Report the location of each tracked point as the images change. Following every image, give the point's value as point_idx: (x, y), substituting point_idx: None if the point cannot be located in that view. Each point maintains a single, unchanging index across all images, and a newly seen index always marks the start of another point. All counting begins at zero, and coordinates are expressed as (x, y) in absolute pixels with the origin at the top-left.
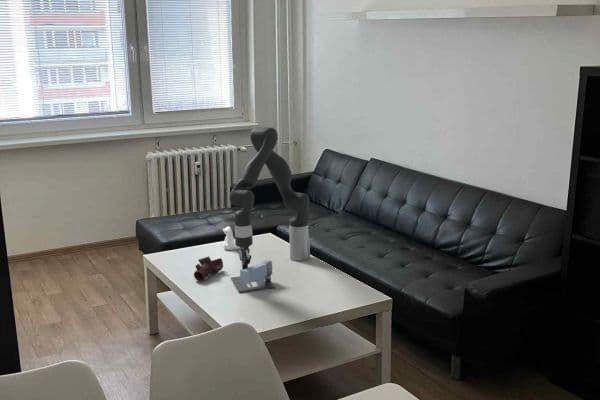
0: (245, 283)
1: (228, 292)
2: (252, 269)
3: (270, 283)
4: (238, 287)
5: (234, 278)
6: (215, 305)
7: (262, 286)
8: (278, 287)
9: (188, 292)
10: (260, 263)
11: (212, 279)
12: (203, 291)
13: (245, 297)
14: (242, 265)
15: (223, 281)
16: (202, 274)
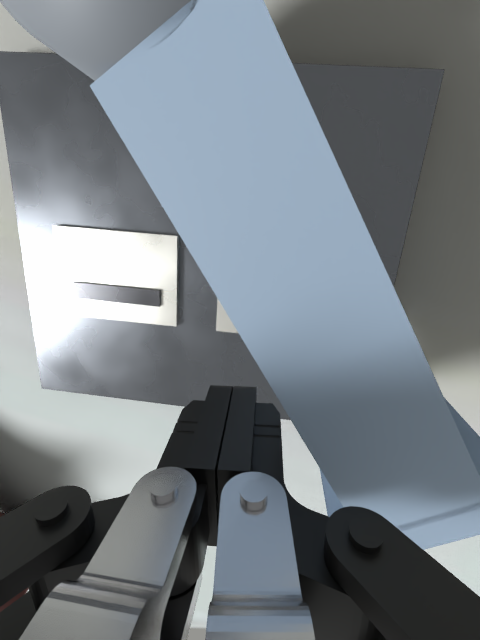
0: (215, 332)
1: (300, 469)
2: (447, 415)
3: (325, 93)
4: (281, 408)
5: (70, 372)
6: (476, 590)
7: (366, 211)
8: (421, 23)
9: (195, 623)
10: (150, 131)
11: (23, 475)
12: (212, 570)
13: (470, 406)
14: (218, 523)
15: (77, 432)
16: (26, 589)
